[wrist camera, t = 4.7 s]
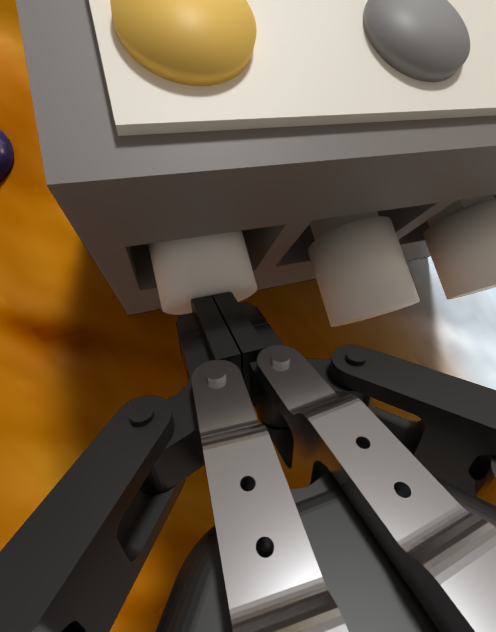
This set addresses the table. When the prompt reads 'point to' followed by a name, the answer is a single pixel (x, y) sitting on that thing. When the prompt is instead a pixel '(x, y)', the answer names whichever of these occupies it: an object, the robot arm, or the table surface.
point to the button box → (257, 122)
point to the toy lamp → (5, 155)
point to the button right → (464, 246)
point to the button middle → (360, 268)
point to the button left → (201, 269)
